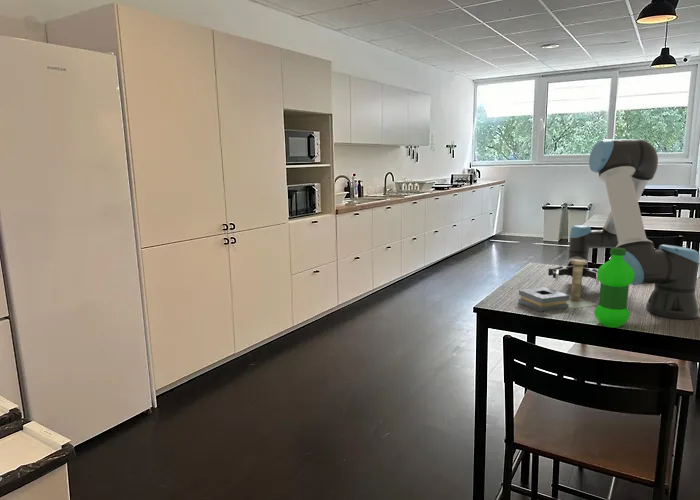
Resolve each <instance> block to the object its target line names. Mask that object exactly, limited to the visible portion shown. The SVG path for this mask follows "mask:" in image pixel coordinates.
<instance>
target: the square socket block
mask: <svg viewBox="0 0 700 500" xmlns="http://www.w3.org/2000/svg"><path fill="white" fill-rule="evenodd" d="M569 295H570V294H567V293H564V292H561V291H558V290H555V289H553V288H549V287H546V286H543V287H533V288H524V289H519V290H518V296H520V297H518V301H517V302H518V304H519V305H522V306H524V307H527V308H530V309H532V310H534V311H537V312H539V313H545V312H549V311H554V310H556V311H557V310H562V309H569V308H570V307H569V304H568V303H567V300H569Z"/></svg>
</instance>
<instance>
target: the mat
mask: <svg viewBox="0 0 700 500" xmlns="http://www.w3.org/2000/svg"><path fill="white" fill-rule="evenodd" d="M568 295H569V300H567V303H568V304H569V307H568V308H571V309H577V308H584V307H591V306H598V305H599V303H596V302H592V301H589V300H586V299H583V298H581V297H580V301H579V302H574V301H571V294H568Z"/></svg>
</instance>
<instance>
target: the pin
mask: <svg viewBox="0 0 700 500" xmlns="http://www.w3.org/2000/svg"><path fill="white" fill-rule="evenodd" d="M571 264H573V277H572V276H571V277H572V279H571V288H570V289H571V290H570V295H571V301H574V302H579V301H580V298H581V292H582V282H583V281H582V279H583V277H582V272H583V265H586V261H585V260H578V259H574V260H571Z"/></svg>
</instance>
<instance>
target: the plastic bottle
mask: <svg viewBox="0 0 700 500" xmlns="http://www.w3.org/2000/svg"><path fill="white" fill-rule="evenodd" d="M609 249H610V251H609V254H610V255H612V259H608V260H607V261H606V262H604V263H603V264H602V265H600V266H599V267H598V268H597V270H598V271H597V278H598V280H599V283H600V289H599V298H598V305H596V308H595V309H594V316H595V318H596V319H597V321H598V322H599V323H600V324H601V325H602V326H603V327H607V328H616V329H617V328H619V327H621V326H623V325H625V324H626V323H627V322H628V319H629V318H630V312H629V311H630V310H629V308H628V296H629V289H630V286H631V285H632V282H633V280H634V277H635V272H634V269H633V268H632V267H631V266H630V265H629V264H628V263H626V262H625V261H624V260H623V255H626V249H624V248H616V247H614V248H609Z"/></svg>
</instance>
